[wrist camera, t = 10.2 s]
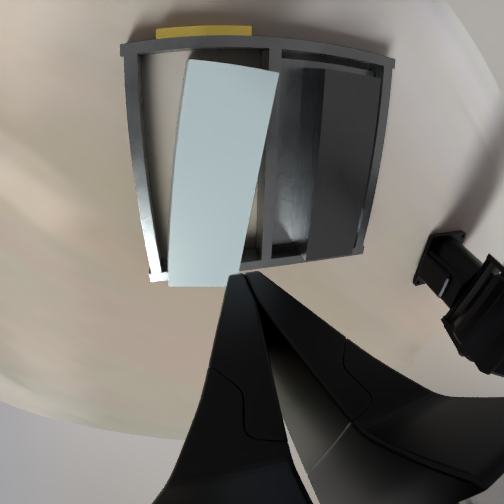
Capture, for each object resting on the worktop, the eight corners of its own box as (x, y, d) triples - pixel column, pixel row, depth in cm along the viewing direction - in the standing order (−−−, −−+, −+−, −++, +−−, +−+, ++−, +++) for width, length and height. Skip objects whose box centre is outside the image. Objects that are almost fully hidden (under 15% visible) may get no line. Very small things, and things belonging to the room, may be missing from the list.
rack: (381, 50, 16) (415, 52, 13) (353, 243, 25) (375, 268, 22) (124, 37, 12) (112, 29, 9) (151, 268, 21) (150, 301, 18)
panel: (252, 72, 16) (279, 72, 12) (222, 241, 22) (235, 286, 18) (185, 63, 14) (189, 59, 10) (167, 240, 21) (168, 286, 17)
